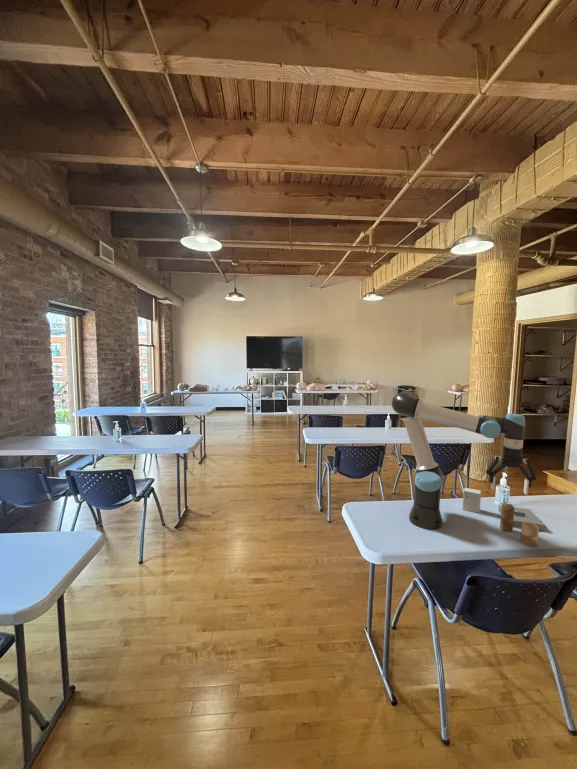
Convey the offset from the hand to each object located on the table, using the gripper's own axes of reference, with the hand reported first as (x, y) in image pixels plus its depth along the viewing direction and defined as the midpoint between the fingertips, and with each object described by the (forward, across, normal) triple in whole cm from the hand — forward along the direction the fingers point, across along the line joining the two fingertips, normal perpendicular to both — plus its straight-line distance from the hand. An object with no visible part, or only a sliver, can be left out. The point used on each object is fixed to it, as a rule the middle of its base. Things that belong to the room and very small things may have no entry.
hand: (508, 491), depth 158 cm
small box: (+19, -11, +19) cm, 28 cm away
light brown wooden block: (+18, +6, -11) cm, 22 cm away
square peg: (+18, 0, 0) cm, 18 cm away
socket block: (+18, +10, +13) cm, 25 cm away
